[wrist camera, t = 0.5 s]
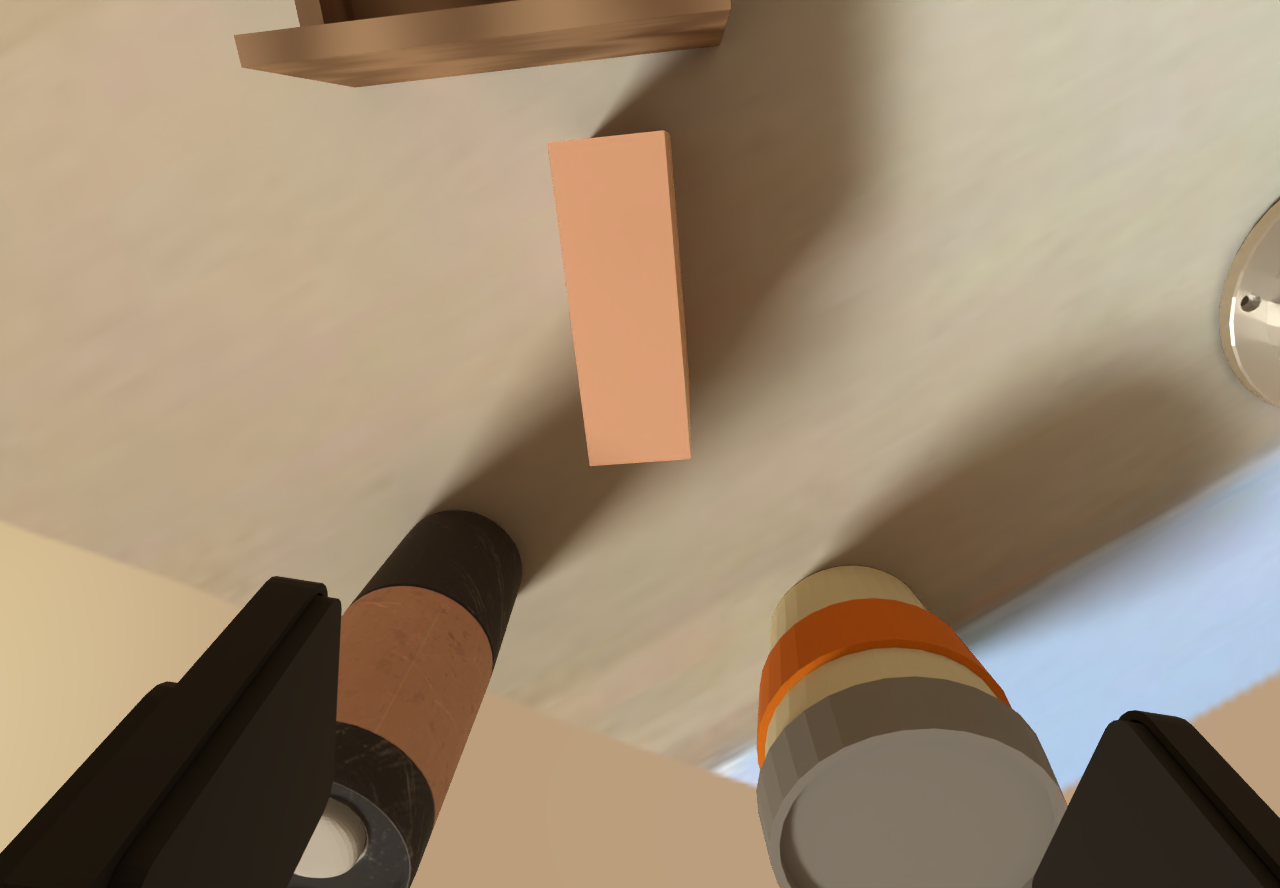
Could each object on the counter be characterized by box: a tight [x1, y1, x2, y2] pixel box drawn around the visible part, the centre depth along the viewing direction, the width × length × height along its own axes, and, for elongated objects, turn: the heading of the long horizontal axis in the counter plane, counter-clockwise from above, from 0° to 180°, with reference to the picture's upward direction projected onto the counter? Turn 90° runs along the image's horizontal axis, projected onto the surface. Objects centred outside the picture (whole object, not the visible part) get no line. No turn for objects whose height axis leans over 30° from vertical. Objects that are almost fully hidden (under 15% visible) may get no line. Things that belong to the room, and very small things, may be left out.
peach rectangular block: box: [548, 130, 691, 466], centre depth 34 cm, size 4×12×11 cm, turn 6°
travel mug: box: [287, 511, 522, 888], centre depth 36 cm, size 8×8×20 cm
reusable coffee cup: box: [757, 565, 1068, 888], centre depth 39 cm, size 13×13×15 cm
